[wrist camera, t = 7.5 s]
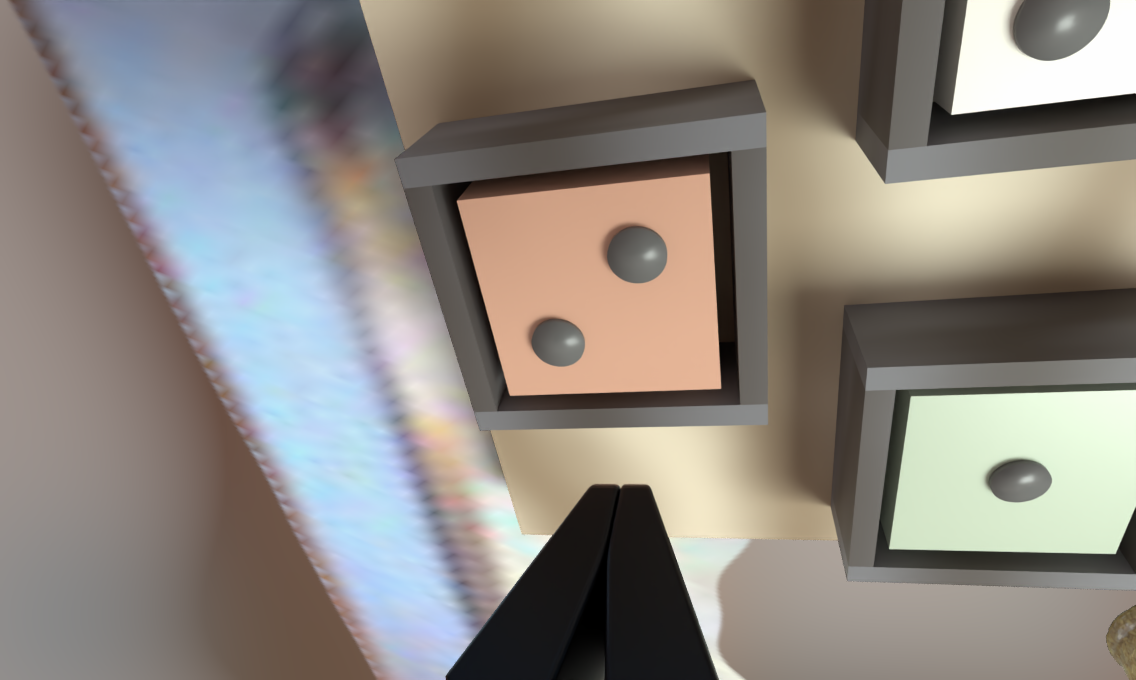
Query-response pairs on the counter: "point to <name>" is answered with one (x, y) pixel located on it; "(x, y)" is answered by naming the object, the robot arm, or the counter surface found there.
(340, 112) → the counter surface
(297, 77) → the counter surface
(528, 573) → the robot arm
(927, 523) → the sage tile
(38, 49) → the counter surface
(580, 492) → the button board
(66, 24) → the counter surface
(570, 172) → the terracotta tile
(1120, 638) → the sprinkles bottle
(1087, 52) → the cream tile
